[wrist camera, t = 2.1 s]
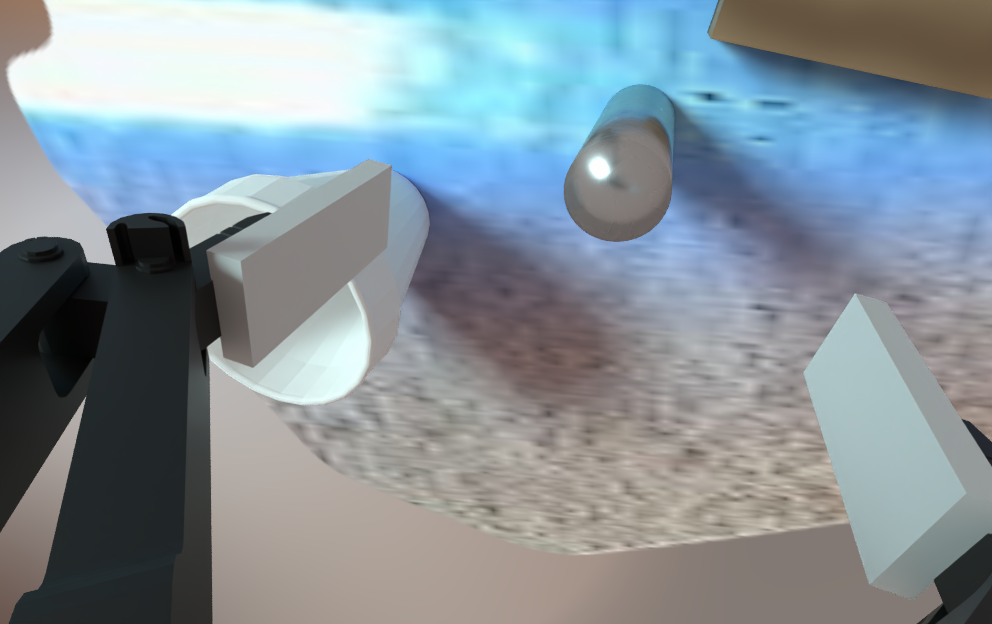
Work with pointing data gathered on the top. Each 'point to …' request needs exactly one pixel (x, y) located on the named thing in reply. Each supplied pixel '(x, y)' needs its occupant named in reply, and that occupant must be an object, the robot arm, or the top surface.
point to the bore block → (872, 36)
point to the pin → (624, 167)
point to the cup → (342, 319)
